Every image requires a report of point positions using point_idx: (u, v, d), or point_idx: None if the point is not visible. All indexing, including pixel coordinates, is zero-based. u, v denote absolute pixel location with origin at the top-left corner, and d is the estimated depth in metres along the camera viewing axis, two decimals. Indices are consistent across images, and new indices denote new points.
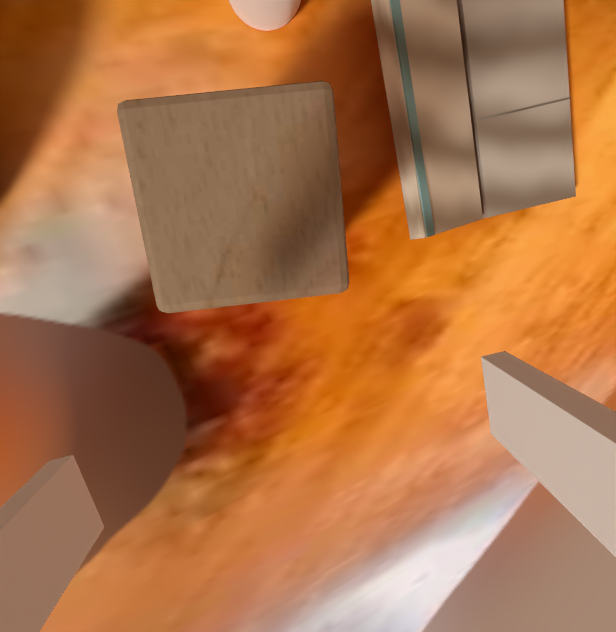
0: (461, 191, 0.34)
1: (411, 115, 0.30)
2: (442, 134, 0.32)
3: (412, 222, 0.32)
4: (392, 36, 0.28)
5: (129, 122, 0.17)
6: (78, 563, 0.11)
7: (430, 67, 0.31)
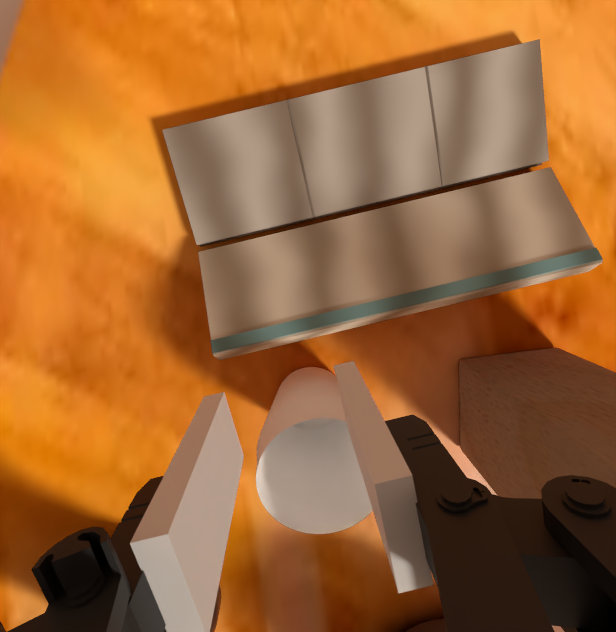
0: (529, 205, 0.30)
1: (472, 285, 0.28)
2: (475, 237, 0.29)
3: (575, 272, 0.29)
4: (401, 311, 0.28)
5: None
6: (236, 479, 0.13)
7: (412, 257, 0.29)
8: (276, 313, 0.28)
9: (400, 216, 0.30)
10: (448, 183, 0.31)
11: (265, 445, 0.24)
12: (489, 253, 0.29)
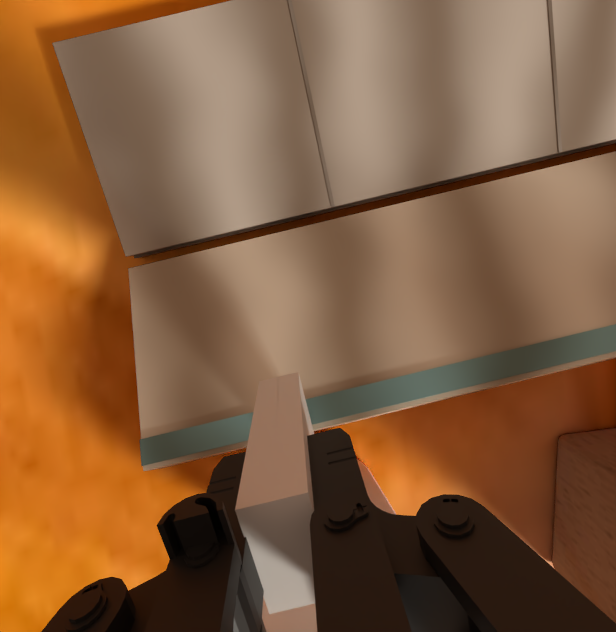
0: None
1: None
2: None
3: None
4: (502, 384, 0.15)
5: None
6: None
7: (515, 280, 0.16)
8: None
9: (486, 205, 0.17)
10: (568, 148, 0.17)
11: None
12: None
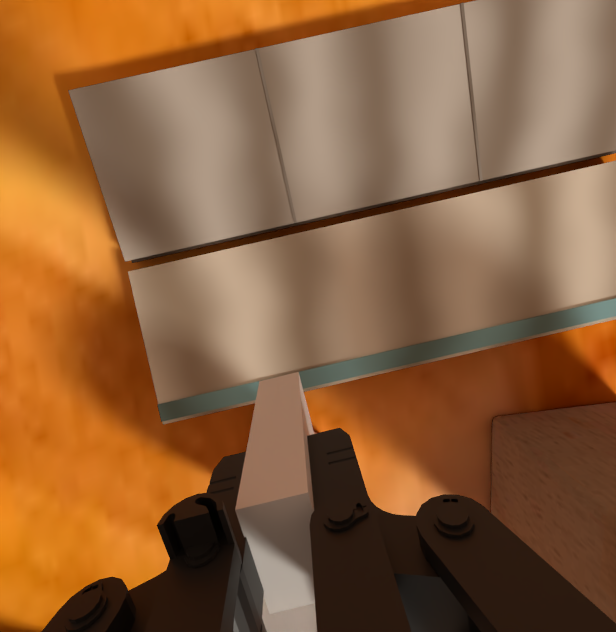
0: (592, 217, 0.22)
1: (502, 334, 0.21)
2: (515, 264, 0.22)
3: None
4: (407, 367, 0.22)
5: None
6: None
7: (428, 292, 0.21)
8: (244, 367, 0.21)
9: (417, 227, 0.21)
10: (488, 177, 0.21)
11: None
12: (529, 289, 0.22)
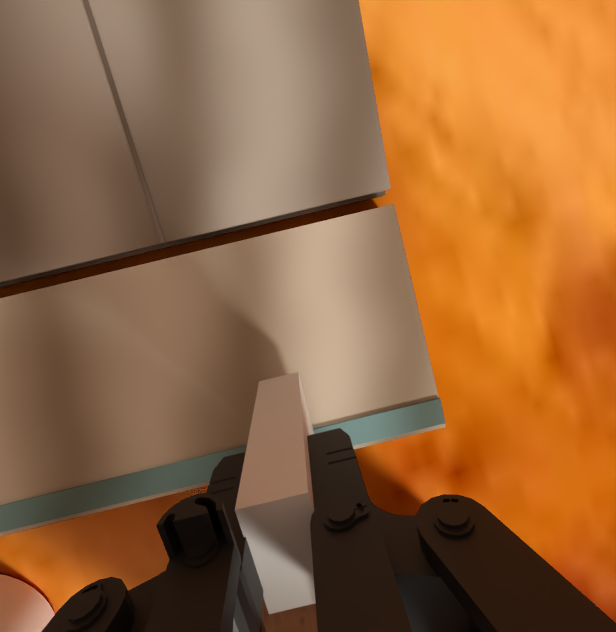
0: (334, 296, 0.14)
1: (201, 470, 0.15)
2: (218, 367, 0.14)
3: None
4: (63, 519, 0.15)
5: None
6: None
7: (89, 410, 0.14)
8: None
9: (69, 313, 0.14)
10: (174, 237, 0.14)
11: None
12: (240, 404, 0.15)
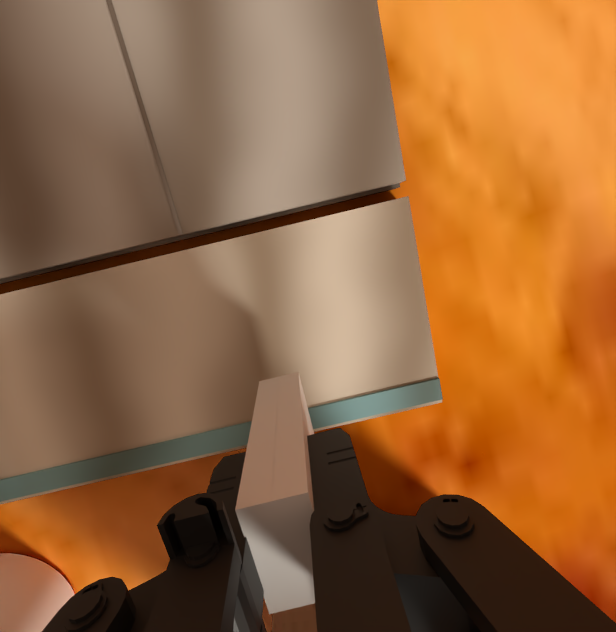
0: (347, 287, 0.15)
1: (225, 439, 0.17)
2: (239, 351, 0.16)
3: None
4: (107, 478, 0.17)
5: None
6: None
7: (121, 389, 0.16)
8: None
9: (95, 303, 0.15)
10: (192, 229, 0.15)
11: None
12: None
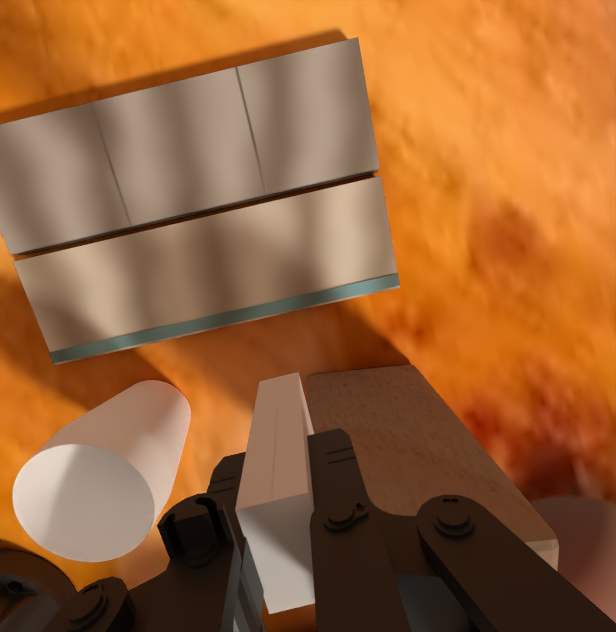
0: (349, 222, 0.30)
1: (283, 306, 0.31)
2: (293, 256, 0.30)
3: None
4: (219, 327, 0.31)
5: None
6: None
7: (231, 276, 0.30)
8: (106, 328, 0.31)
9: (221, 229, 0.29)
10: (272, 191, 0.29)
11: (22, 470, 0.23)
12: (303, 275, 0.30)
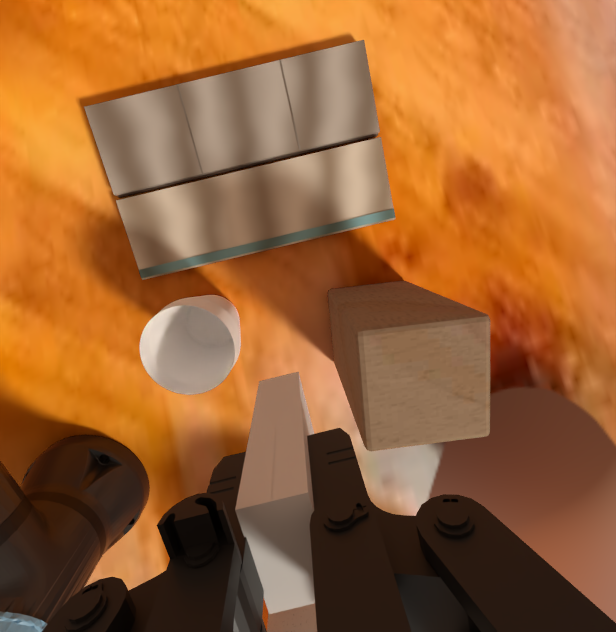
0: (359, 171, 0.41)
1: (311, 233, 0.43)
2: (318, 196, 0.42)
3: None
4: (264, 250, 0.43)
5: (379, 445, 0.29)
6: None
7: (273, 211, 0.42)
8: (181, 251, 0.42)
9: (267, 176, 0.41)
10: (304, 148, 0.41)
11: (146, 326, 0.34)
12: (325, 210, 0.42)
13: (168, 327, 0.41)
